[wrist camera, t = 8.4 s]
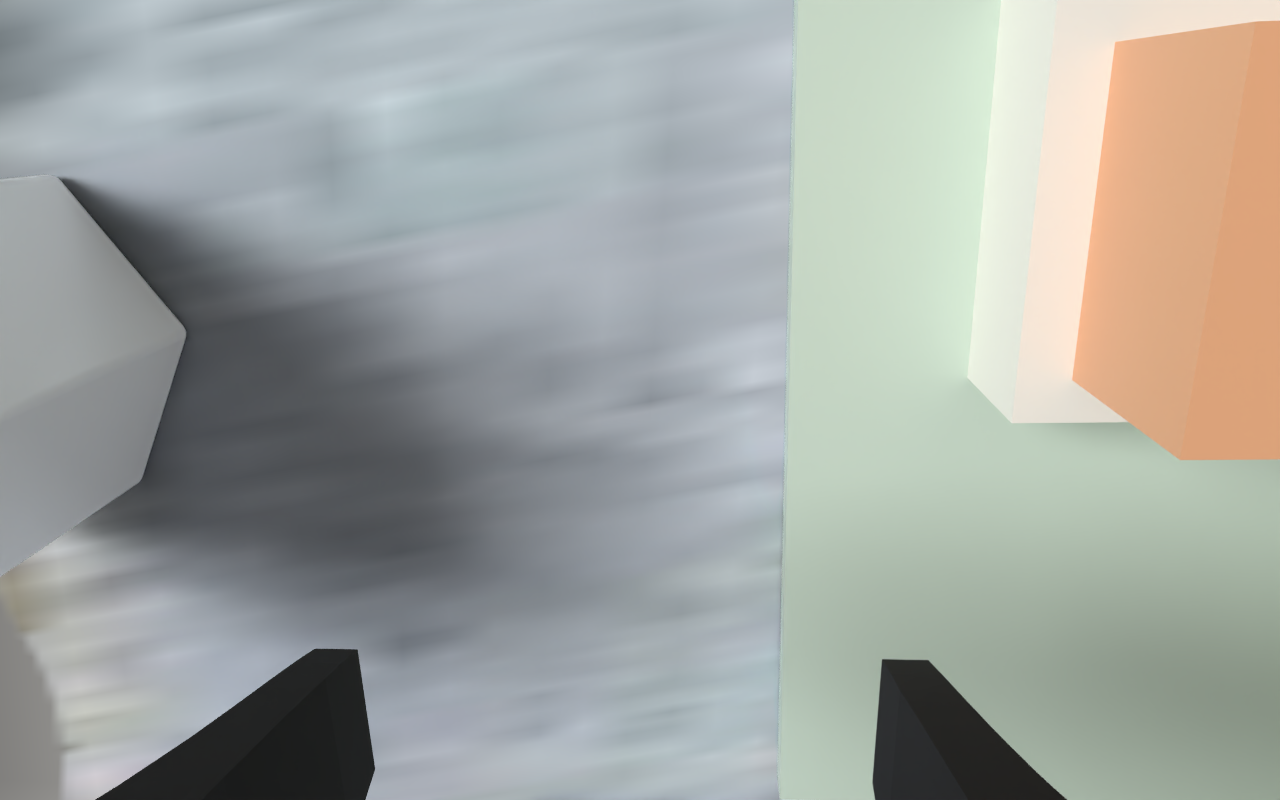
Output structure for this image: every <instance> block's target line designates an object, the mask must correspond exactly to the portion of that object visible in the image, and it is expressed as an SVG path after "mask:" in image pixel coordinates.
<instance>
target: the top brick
mask: <svg viewBox="0 0 1280 800" xmlns="http://www.w3.org/2000/svg"><path fill="white" fill-rule="evenodd" d="M1072 380H1073V381H1074V382H1075V383H1077V384H1078V385H1079V386H1081V387H1082V388H1083V389H1085V390H1086V391H1087V392H1089V393H1090V394H1092V395H1093V396H1094V397H1096V398H1097V399H1098V400H1100V401H1101V402H1102V403H1104V404H1105V405H1106V406H1108V407H1109V408H1110V409H1112V410H1113V411H1114V412H1116V413H1117V414H1118V415H1120V416H1121V417H1123V418H1124V419H1125V420H1127V421H1128V422H1129V423H1131V424H1132V425H1133V426H1135V427H1136V428H1137V429H1139V430H1140V431H1141V432H1143V433H1144V434H1145V435H1147V436H1148V437H1149V438H1151V439H1152V440H1154V441H1155V442H1156V443H1158V444H1159V445H1160V446H1162V447H1163V448H1164V449H1166V450H1167V451H1168V452H1170V453H1171V454H1172V455H1174V456H1175V457H1176V458H1178V459H1179V460H1270V459H1280V21H1256V22H1249V23H1242V24H1235V25H1228V26H1221V27H1214V28H1207V29H1201V30H1194V31H1187V32H1180V33H1173V34H1166V35H1159V36H1153V37H1146V38H1139V39H1132V40H1125V41H1118V42H1115V47H1114V54H1113V62H1112V70H1111V78H1110V86H1109V94H1108V102H1107V109H1106V117H1105V125H1104V133H1103V141H1102V149H1101V156H1100V164H1099V172H1098V180H1097V188H1096V196H1095V204H1094V211H1093V219H1092V227H1091V235H1090V243H1089V251H1088V259H1087V266H1086V274H1085V282H1084V290H1083V298H1082V306H1081V313H1080V321H1079V329H1078V337H1077V345H1076V353H1075V361H1074V368H1073V376H1072Z"/></svg>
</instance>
